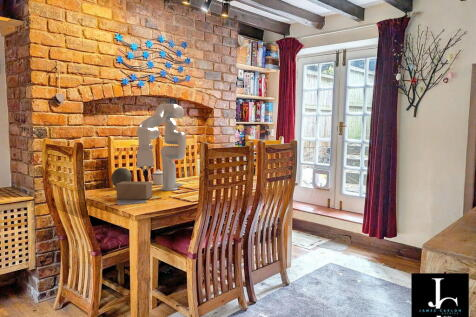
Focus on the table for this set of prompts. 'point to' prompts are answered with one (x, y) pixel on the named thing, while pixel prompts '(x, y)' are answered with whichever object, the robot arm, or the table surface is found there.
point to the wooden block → (134, 190)
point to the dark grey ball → (121, 176)
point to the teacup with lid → (157, 177)
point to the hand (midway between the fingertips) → (145, 176)
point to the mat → (130, 201)
